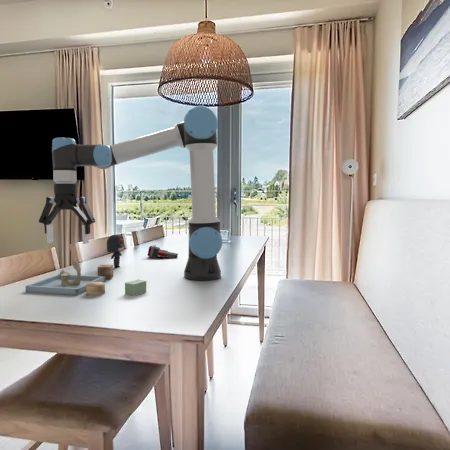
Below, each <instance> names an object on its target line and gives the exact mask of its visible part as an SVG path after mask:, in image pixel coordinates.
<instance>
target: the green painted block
mask: <svg viewBox="0 0 450 450" xmlns="http://www.w3.org/2000/svg"><path fill="white" fill-rule="evenodd" d="M145 293H147V280H143V279H134V280H131V281H127V282H124V294H125V295H127V296H132V297H135V296H137V295H141V294H145Z"/></svg>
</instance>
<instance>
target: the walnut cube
mask: <svg viewBox="0 0 450 450" xmlns="http://www.w3.org/2000/svg"><path fill="white" fill-rule="evenodd" d="M96 268H97V276H105V281H107V280H112V279H113V278H114V264H100V265H98V266H97V267H96Z"/></svg>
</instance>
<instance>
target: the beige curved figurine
mask: <svg viewBox="0 0 450 450" xmlns="http://www.w3.org/2000/svg"><path fill="white" fill-rule="evenodd" d="M72 267H73V269H74V270H75V271H76V275H77V277H76V279H75V280H73V281H69V280H68V278H69V277H70V275H71V273H70V272H69V271H65V270H64V269H62V270H61V271H60V273H59V274H60V275H61V276H60V277H61V285H63V286H65V287H66V286H70V285H80V282H81V275H82V273H81V272H82V271H81V270H82V268H81V265H80V263H79V262H78V261H77V260H73V261H72Z"/></svg>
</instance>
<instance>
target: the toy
mask: <svg viewBox="0 0 450 450" xmlns="http://www.w3.org/2000/svg"><path fill="white" fill-rule="evenodd" d="M124 241H125V240H124V237H123V236H122V235H119V234H111V235H110V236H109V237H108V238H107V240H106V251H107V252H108V253H112V255H111V256H110V260H112V259H113V269H118V268H120V267H121V265H120V261H121V260H120V258H121V256H123V255H122V253H121V252H123V251H124V249H125V244H124Z"/></svg>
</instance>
